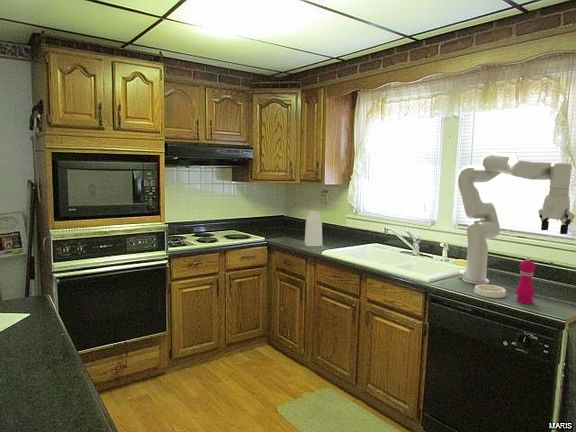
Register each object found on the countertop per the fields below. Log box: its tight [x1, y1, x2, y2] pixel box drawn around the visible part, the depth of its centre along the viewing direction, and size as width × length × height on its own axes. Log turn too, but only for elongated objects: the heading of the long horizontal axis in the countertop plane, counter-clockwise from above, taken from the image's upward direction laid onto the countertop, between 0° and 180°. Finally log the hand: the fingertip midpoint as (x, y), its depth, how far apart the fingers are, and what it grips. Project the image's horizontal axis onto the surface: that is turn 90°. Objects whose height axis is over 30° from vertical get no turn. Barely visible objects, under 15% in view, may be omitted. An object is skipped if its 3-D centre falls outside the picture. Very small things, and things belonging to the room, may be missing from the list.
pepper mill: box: [515, 256, 536, 305], centre depth 180 cm, size 7×7×20 cm
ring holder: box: [473, 284, 507, 299], centre depth 193 cm, size 13×13×3 cm
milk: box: [304, 210, 323, 247], centre depth 302 cm, size 12×12×26 cm
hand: (553, 232), depth 177 cm, fingers open, 9 cm apart
